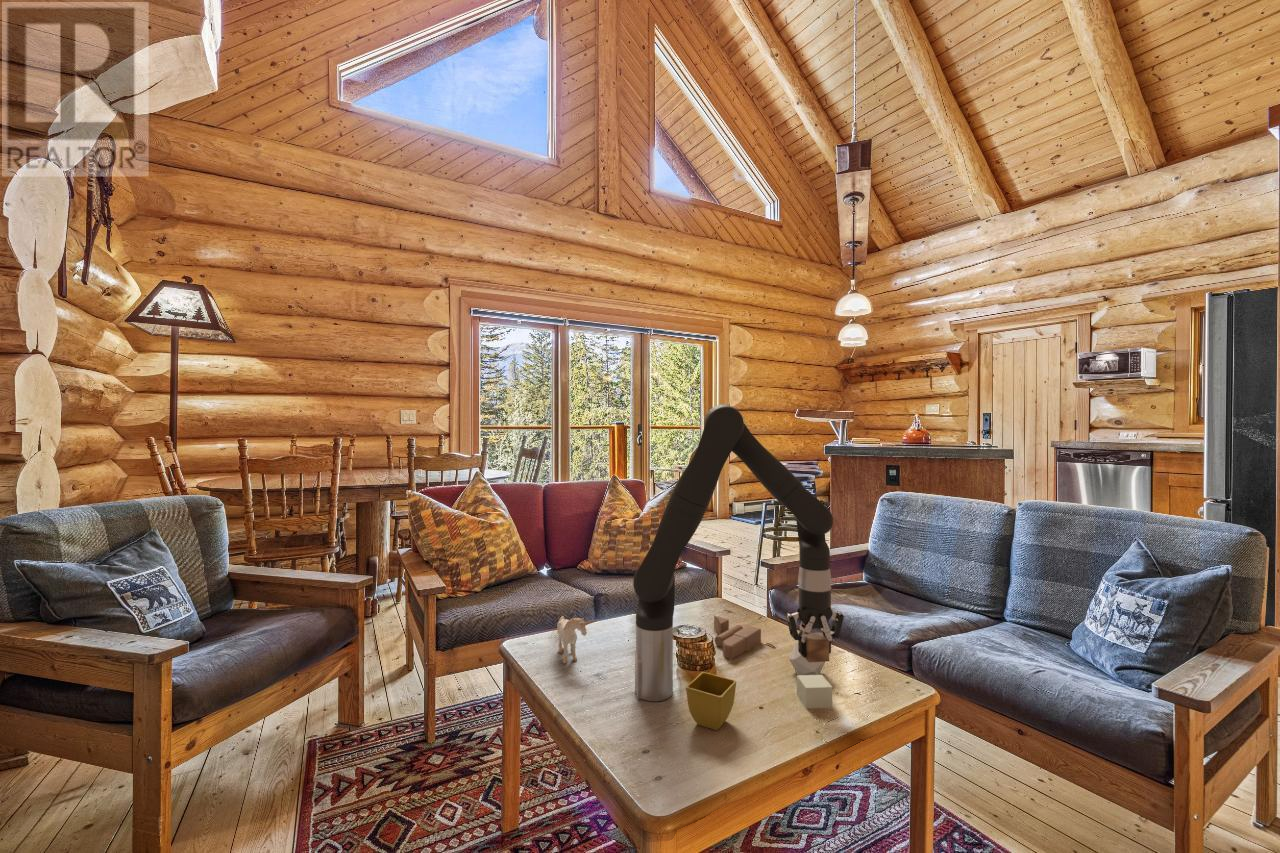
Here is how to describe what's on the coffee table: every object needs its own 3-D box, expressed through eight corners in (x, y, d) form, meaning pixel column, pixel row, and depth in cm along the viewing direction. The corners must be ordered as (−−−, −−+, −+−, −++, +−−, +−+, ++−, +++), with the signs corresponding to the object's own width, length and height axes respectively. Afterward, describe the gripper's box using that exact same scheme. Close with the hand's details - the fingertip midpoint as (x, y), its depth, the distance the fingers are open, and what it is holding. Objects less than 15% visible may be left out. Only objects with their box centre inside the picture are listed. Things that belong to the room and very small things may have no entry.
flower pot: (721, 738, 121) (721, 696, 121) (684, 726, 126) (685, 686, 126) (737, 719, 129) (737, 680, 129) (702, 708, 133) (702, 671, 133)
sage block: (805, 708, 134) (805, 687, 134) (796, 695, 140) (796, 675, 140) (832, 708, 134) (832, 687, 134) (822, 694, 141) (822, 674, 140)
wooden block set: (763, 624, 173) (732, 642, 159) (762, 642, 173) (732, 662, 159) (716, 611, 184) (683, 627, 170) (715, 629, 184) (683, 646, 170)
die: (819, 687, 145) (835, 651, 148) (788, 668, 147) (804, 632, 150) (809, 684, 153) (825, 650, 156) (779, 665, 155) (796, 632, 158)
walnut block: (808, 662, 134) (808, 641, 134) (800, 653, 139) (800, 633, 139) (829, 661, 134) (829, 640, 134) (820, 652, 139) (820, 632, 139)
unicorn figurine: (576, 675, 151) (576, 625, 151) (543, 650, 167) (543, 605, 166) (599, 667, 155) (599, 619, 155) (565, 644, 171) (564, 600, 171)
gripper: (791, 591, 132) (791, 663, 132) (850, 589, 133) (850, 660, 134) (780, 582, 139) (780, 650, 140) (836, 580, 141) (836, 647, 141)
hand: (814, 655), depth 137 cm, fingers closed on walnut block, 5 cm apart
